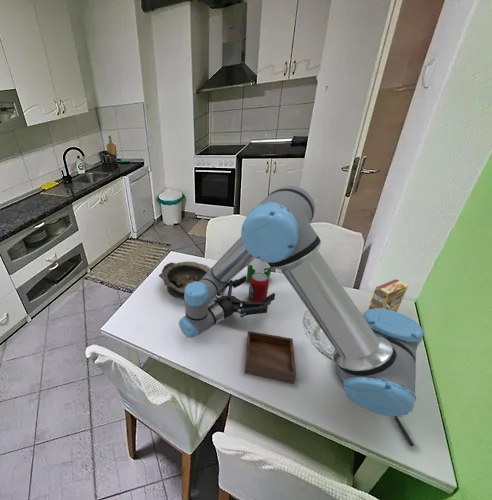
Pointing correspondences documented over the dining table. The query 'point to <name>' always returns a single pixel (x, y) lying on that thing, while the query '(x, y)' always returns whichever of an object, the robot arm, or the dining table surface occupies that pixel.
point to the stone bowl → (182, 276)
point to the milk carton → (258, 268)
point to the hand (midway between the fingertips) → (259, 287)
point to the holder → (270, 357)
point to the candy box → (388, 295)
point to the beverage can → (258, 287)
